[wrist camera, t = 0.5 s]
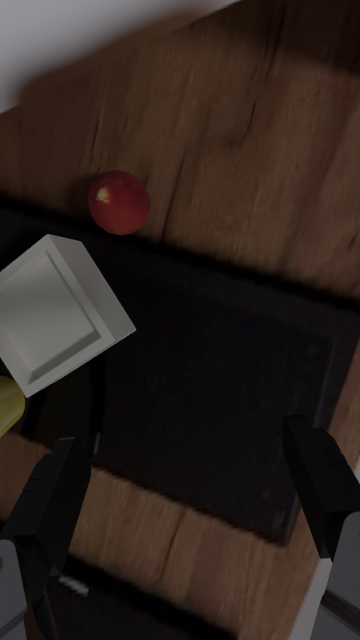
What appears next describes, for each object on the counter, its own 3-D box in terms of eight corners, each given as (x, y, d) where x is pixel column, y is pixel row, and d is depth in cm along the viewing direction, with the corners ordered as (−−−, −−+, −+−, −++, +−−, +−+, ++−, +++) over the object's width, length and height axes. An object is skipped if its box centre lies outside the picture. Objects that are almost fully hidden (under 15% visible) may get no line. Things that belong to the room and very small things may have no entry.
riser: (82, 241, 35) (47, 234, 28) (137, 329, 35) (115, 340, 29) (10, 296, 38) (-36, 300, 31) (62, 377, 38) (26, 397, 31)
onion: (104, 189, 33) (63, 162, 25) (154, 178, 32) (126, 147, 24) (112, 242, 34) (74, 232, 26) (161, 234, 33) (137, 220, 25)
